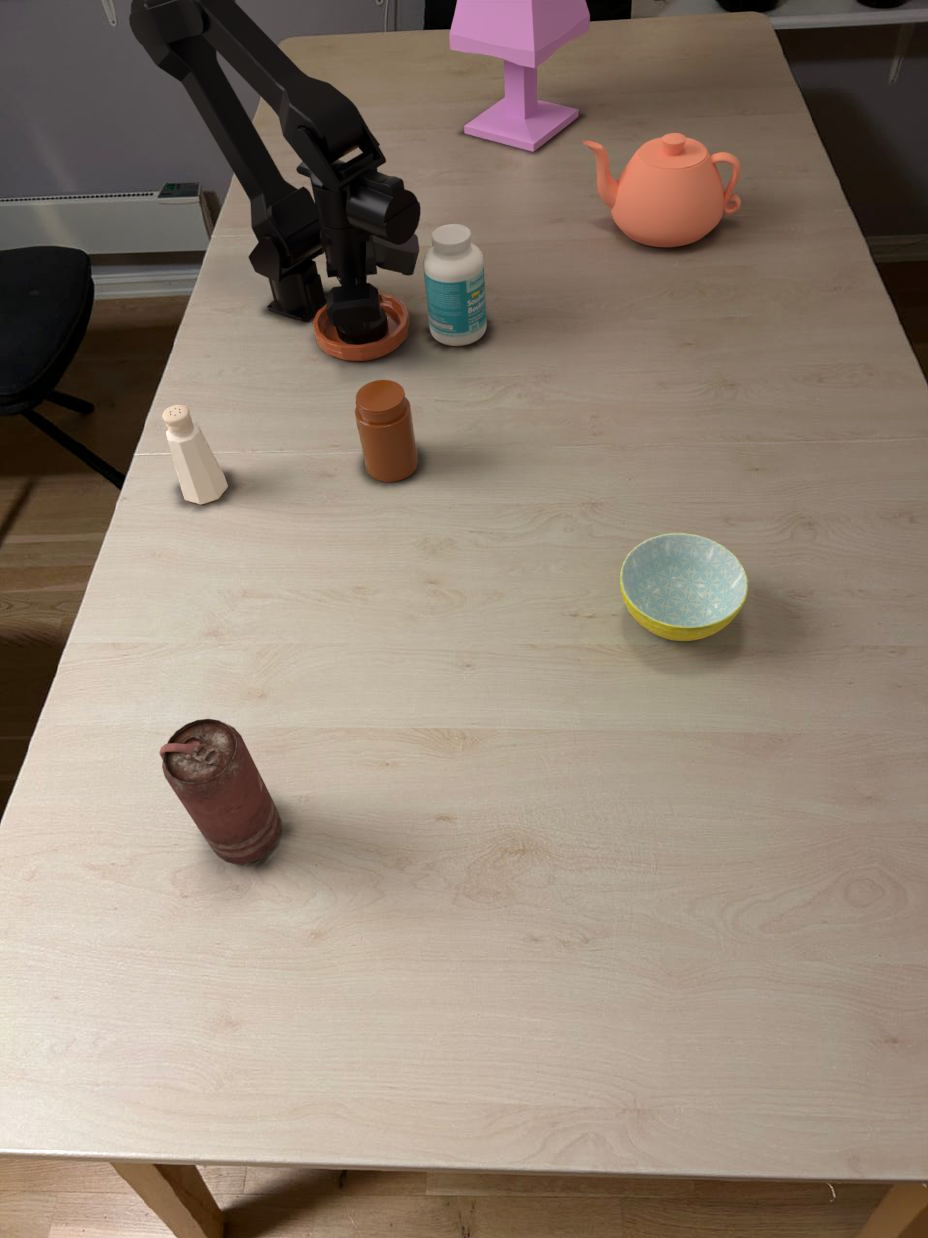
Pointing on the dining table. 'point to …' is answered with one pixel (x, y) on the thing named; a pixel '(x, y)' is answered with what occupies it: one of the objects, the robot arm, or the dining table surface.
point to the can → (221, 790)
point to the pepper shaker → (193, 458)
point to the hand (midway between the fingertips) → (362, 330)
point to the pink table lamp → (519, 62)
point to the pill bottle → (455, 286)
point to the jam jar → (386, 431)
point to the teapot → (667, 190)
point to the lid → (375, 330)
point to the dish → (387, 344)
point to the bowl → (683, 586)
